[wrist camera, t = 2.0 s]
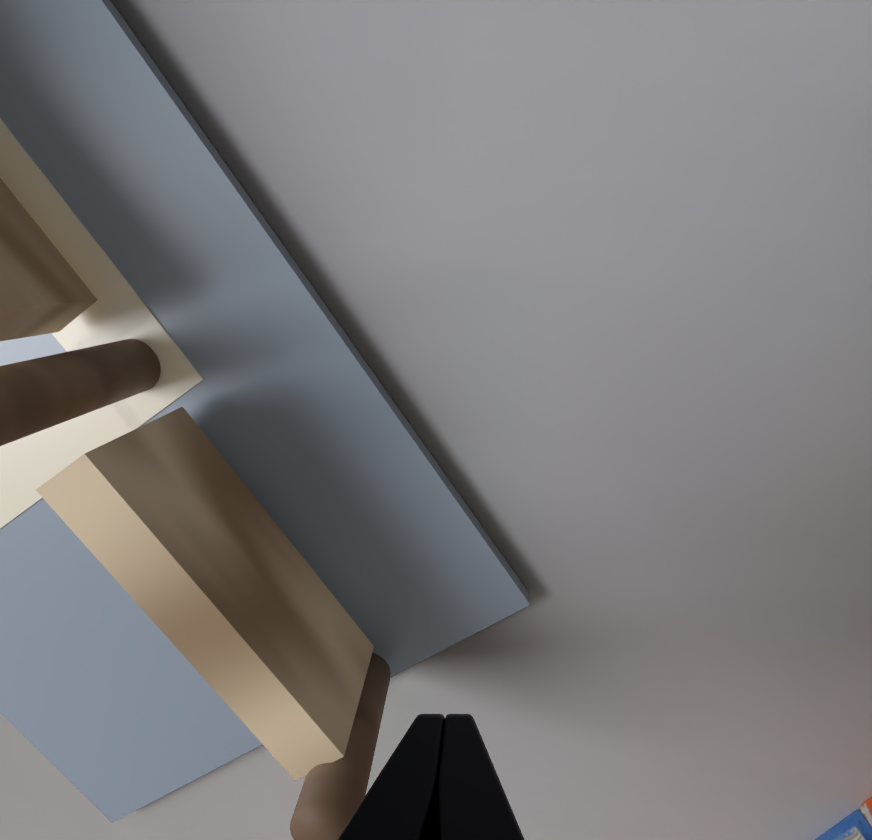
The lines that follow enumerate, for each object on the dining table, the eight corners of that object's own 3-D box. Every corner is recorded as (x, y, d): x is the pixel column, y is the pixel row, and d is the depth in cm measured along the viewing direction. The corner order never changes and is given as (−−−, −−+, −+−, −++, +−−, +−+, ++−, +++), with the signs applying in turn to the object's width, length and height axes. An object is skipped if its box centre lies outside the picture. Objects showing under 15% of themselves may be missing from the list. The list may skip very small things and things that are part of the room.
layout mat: (-39, -212, 12) (-69, -239, 11) (528, 592, 16) (530, 605, 15) (-426, 255, 15) (-464, 255, 15) (122, 806, 20) (110, 824, 19)
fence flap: (143, 434, 14) (-9, 512, 10) (182, 406, 14) (44, 472, 9) (361, 699, 16) (317, 865, 12) (400, 679, 16) (369, 841, 11)
